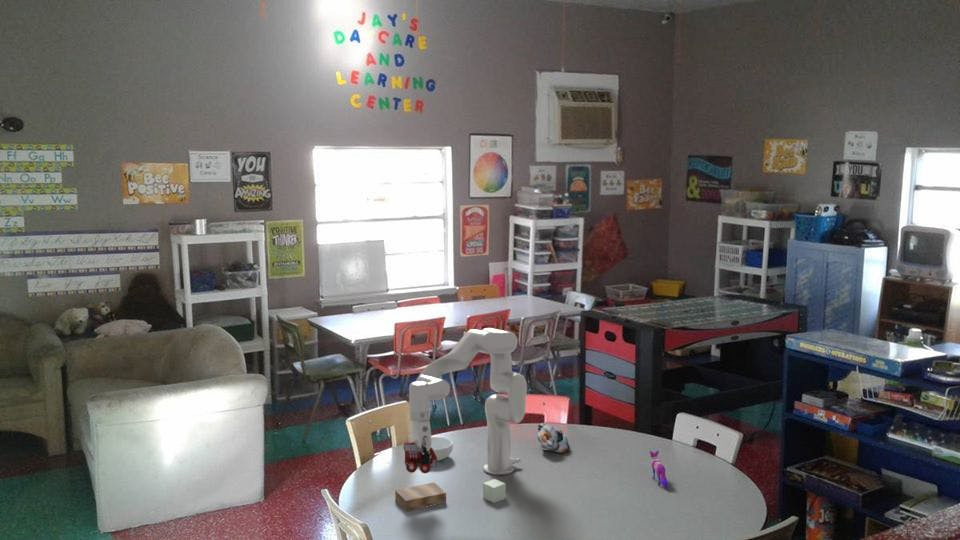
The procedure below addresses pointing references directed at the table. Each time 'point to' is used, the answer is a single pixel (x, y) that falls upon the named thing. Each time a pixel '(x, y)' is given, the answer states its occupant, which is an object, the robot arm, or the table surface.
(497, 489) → the sage cube
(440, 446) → the cereal bowl
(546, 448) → the lucky cat figurine
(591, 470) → the table surface
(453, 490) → the table surface
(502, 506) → the table surface
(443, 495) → the tan block
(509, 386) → the robot arm
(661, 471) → the toy dog
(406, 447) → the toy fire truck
